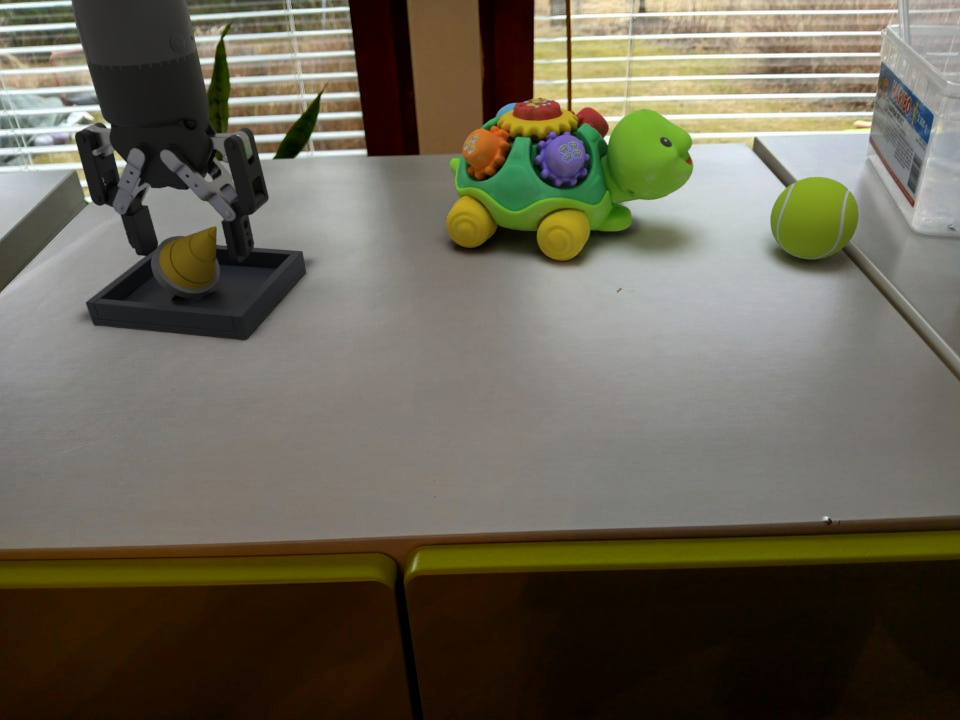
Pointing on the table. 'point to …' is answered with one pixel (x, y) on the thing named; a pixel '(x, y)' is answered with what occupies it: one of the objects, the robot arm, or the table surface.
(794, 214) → the tennis ball
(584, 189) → the turtle toy
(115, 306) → the black tray
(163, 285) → the yellow spinning top
